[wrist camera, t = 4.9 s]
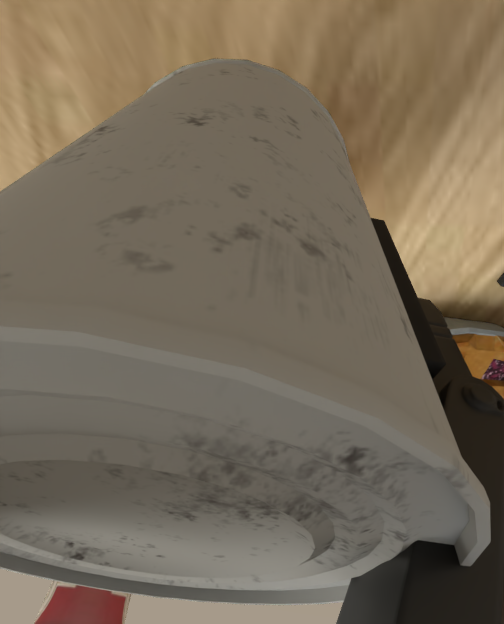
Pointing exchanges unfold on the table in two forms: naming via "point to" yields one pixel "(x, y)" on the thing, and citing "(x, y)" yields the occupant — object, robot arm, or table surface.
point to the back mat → (501, 280)
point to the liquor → (82, 605)
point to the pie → (481, 349)
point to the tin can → (214, 359)
